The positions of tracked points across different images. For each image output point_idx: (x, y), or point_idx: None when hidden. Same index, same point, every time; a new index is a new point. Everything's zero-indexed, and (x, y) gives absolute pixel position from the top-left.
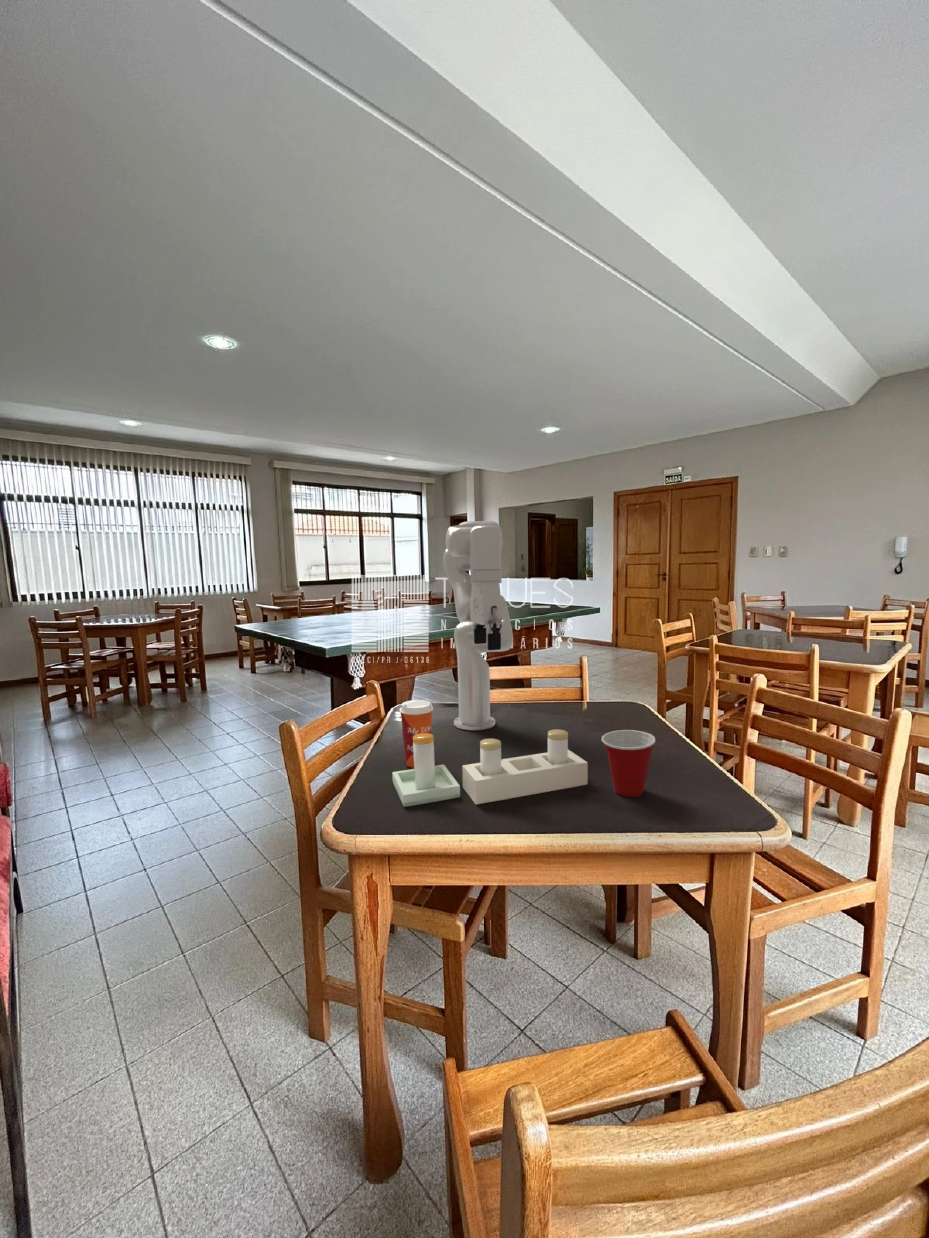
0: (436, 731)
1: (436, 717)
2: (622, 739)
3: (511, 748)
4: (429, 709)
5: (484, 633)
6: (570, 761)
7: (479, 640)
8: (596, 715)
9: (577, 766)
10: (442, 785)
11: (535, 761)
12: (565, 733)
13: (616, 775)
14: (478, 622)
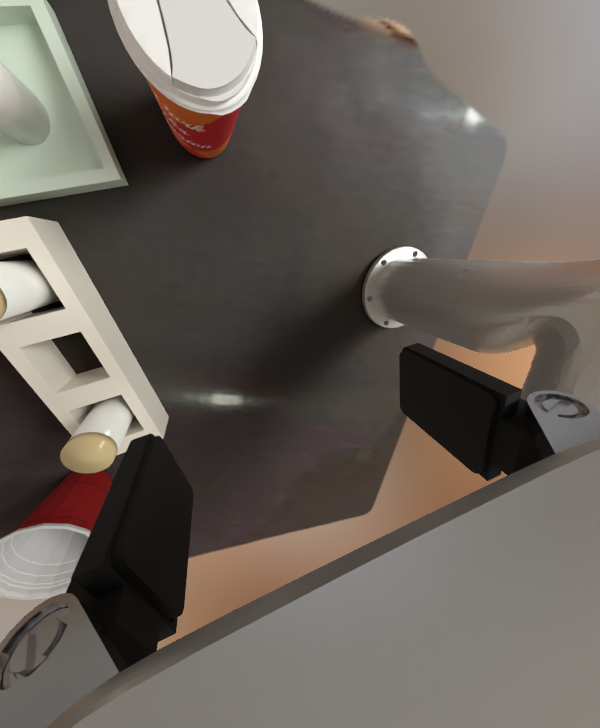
0: (380, 201)
1: (454, 212)
2: None
3: (268, 342)
4: (160, 81)
5: (445, 440)
6: None
7: (412, 383)
8: (376, 464)
9: None
10: (32, 166)
11: (89, 383)
12: (84, 469)
13: (51, 493)
14: (253, 642)
